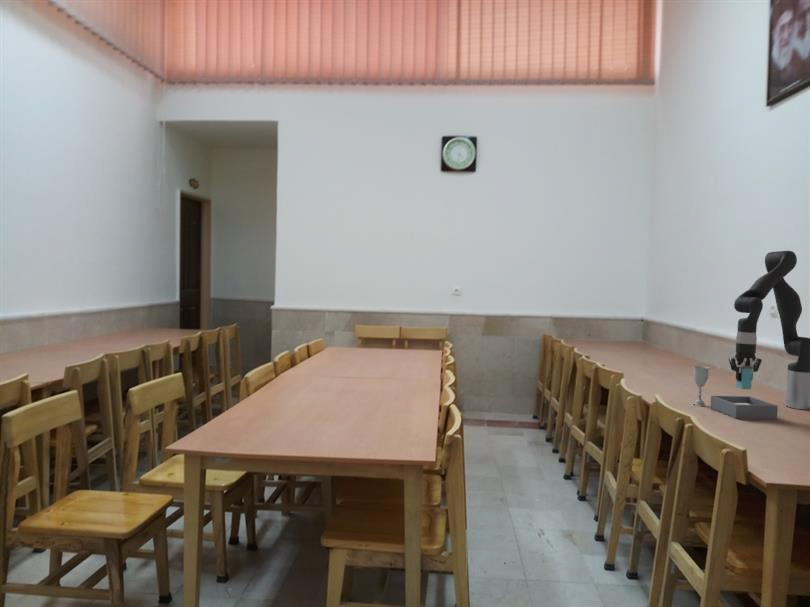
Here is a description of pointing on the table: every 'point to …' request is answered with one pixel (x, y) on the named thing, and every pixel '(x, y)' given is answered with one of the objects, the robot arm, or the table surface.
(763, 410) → the walled box
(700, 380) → the chalice
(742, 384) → the peg
